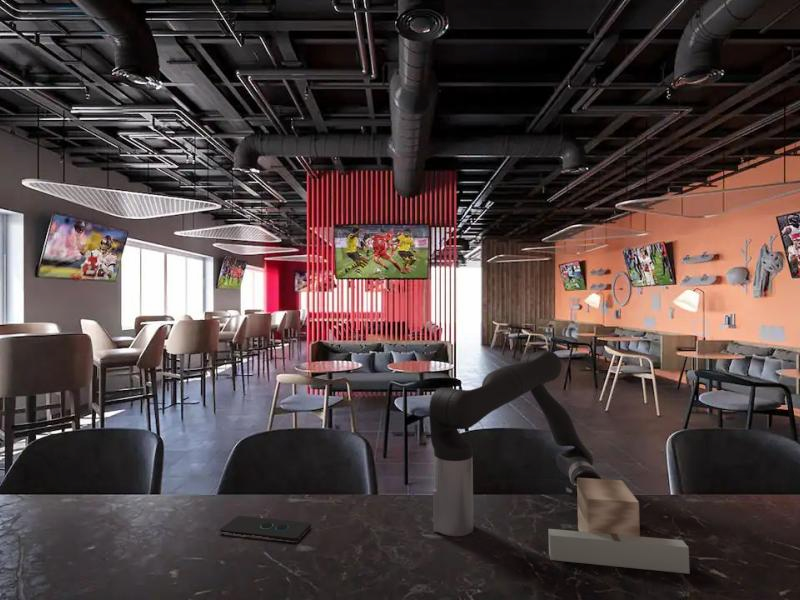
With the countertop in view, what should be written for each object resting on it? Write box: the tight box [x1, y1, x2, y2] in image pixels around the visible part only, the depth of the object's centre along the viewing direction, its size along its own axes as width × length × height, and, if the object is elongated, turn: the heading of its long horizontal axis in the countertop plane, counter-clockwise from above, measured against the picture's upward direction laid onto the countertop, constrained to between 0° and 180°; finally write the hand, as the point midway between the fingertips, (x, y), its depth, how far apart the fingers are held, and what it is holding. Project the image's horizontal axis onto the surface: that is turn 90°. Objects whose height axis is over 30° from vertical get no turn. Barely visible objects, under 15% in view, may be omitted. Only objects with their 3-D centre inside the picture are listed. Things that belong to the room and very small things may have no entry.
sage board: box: [547, 528, 691, 574], centre depth 92 cm, size 26×3×5 cm, turn 78°
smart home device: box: [219, 515, 312, 541], centre depth 107 cm, size 8×2×20 cm
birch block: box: [576, 478, 641, 537], centre depth 100 cm, size 10×13×12 cm
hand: (599, 504), depth 106 cm, fingers closed
